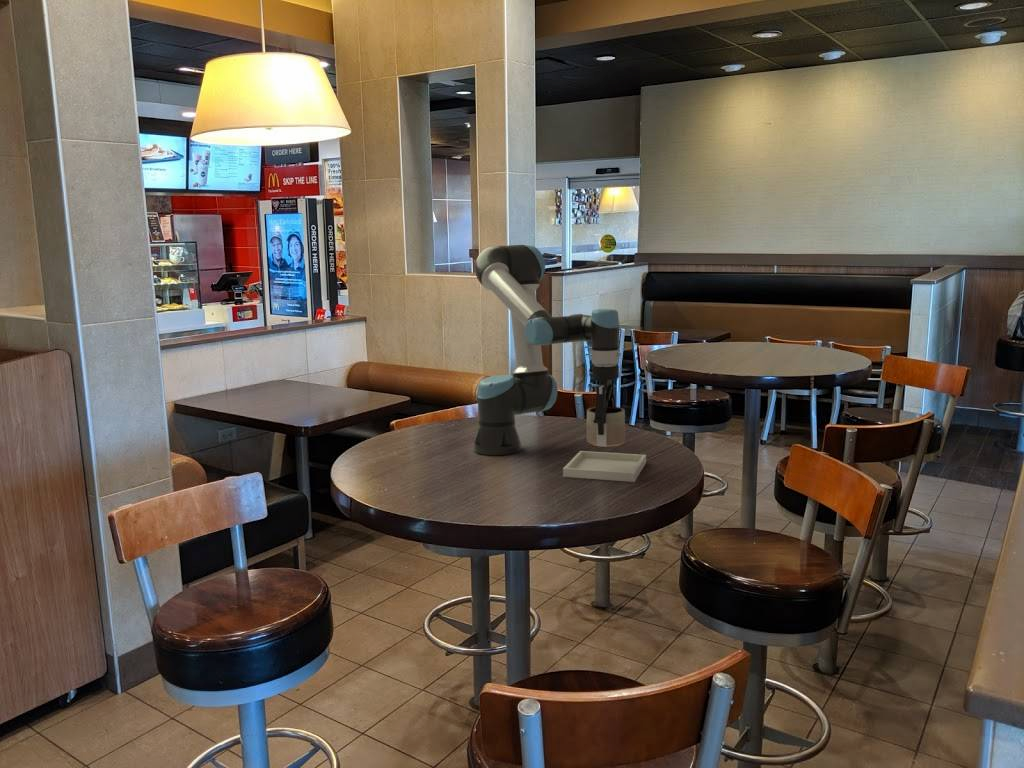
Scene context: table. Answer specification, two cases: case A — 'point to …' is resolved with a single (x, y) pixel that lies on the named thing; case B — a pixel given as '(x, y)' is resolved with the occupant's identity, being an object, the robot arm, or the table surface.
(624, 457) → the tray
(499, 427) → the robot arm
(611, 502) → the table surface
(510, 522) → the table surface
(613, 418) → the planter
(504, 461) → the table surface
